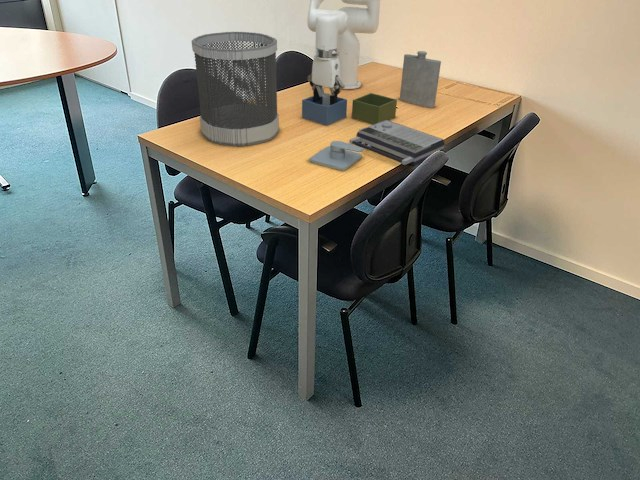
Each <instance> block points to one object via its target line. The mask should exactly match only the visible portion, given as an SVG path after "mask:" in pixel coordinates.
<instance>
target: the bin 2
mask: <svg viewBox="0 0 640 480" xmlns="http://www.w3.org/2000/svg"><path fill="white" fill-rule="evenodd" d="M397 103H398V99H397V98H392V97H388V96H384V95H381V94H377V93H372V92H369V93H367V94H364V95H362V96H359V97H356V98H354V99H352V105H351V119H353V120H357V121H361V122H363V123H367V124H371V125H374V124H377V123H380V122H382V121H385V120H389V121H392V120H393V119H395V118H396V114H397Z"/></svg>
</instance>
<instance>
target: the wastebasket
mask: <svg viewBox="0 0 640 480" xmlns="http://www.w3.org/2000/svg"><path fill="white" fill-rule="evenodd" d="M191 48H192V49H191V50H192V52H193V54H194V61H195V73H196V82H197V91H198V93H197V94H198V99H199V100H198V101H199V111H200V115H199V122H200V123H199V124H200V125H199V126H200V134H201V136H202V137H203V138H204V139H206V140H207V141H208V142H211V143H212V144H215V145H220V146H227V147H246V146H247V147H249V146H254V145H259V144H263V143H266V142H270V141H272V140H274V139H275V138H276V137H277V135H278V134H279V132H280V120H279V119H280V118H279V117H280V116H279V115H280V114H279V113H278V89H277V88H278V87H277V84H278V83H277V51H278V40H277V39H276V38H275V37H273V36H270V35H268V34H265V33H260V32H252V31H251V32H250V31H222V32H212V33H211V32H210V33H206V34H202V35H199V36H196V37H195V38H192V40H191Z"/></svg>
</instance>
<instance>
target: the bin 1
mask: <svg viewBox="0 0 640 480" xmlns="http://www.w3.org/2000/svg"><path fill="white" fill-rule="evenodd" d="M347 110H348V99H347V98H343V97H340V96H337V103H335V104H332V105H330V106H324V105H322V97H320V100H318V101H316V102H314V101H313V95H311V96H309V97H306V98H304V99H301V118H302V119H303V120H307V121H310V122H313V123H315V124H316V123H317V124H320V125H323V126H326V127H327V126H330V125H332V124H334V123H337V122H339V121H341V120H345V119H346V118H347V112H348V111H347Z"/></svg>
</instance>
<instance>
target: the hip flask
mask: <svg viewBox="0 0 640 480" xmlns="http://www.w3.org/2000/svg"><path fill="white" fill-rule="evenodd" d="M427 54H428V52H427V51H425V50H419V51H417V53H416V55H415V54H410V53H409V54H408V53H406V54H404V55H403V64H402V71H401V73H402V74H401V84H400V91H399V92H400V93H399V100H400V101H402V102H404V103H409V104H412V105H415V106H419V107H424V108H429V109H434V108H435V106H436V99H437V92H438V85H439V78H440V71H441V65H442V61H441V60H438V59H431V58H427Z"/></svg>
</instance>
